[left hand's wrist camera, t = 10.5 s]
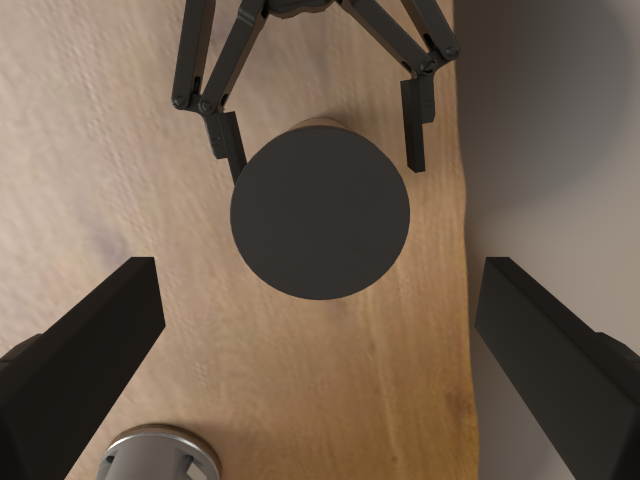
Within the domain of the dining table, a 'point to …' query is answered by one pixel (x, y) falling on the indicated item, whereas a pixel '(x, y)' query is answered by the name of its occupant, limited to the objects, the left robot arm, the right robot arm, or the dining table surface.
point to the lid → (319, 213)
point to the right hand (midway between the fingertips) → (330, 183)
